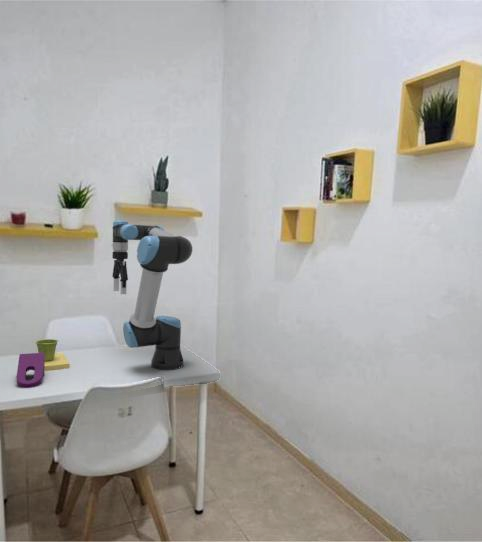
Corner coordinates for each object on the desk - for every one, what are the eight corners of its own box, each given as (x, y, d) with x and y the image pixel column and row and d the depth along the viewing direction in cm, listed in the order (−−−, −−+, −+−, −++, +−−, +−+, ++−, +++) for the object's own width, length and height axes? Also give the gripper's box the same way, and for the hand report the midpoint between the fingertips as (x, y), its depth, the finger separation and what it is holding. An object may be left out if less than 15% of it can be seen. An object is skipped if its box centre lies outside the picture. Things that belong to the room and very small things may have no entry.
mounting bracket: (42, 398, 170) (44, 367, 184) (42, 382, 166) (44, 352, 181) (16, 400, 166) (20, 369, 181) (15, 384, 163) (19, 354, 177)
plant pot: (41, 356, 200) (41, 338, 199) (61, 357, 200) (61, 339, 199) (31, 362, 190) (31, 343, 190) (52, 363, 190) (52, 344, 190)
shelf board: (69, 367, 191) (69, 363, 191) (40, 371, 184) (40, 366, 184) (62, 356, 208) (62, 352, 208) (35, 359, 202) (35, 355, 201)
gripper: (106, 250, 223) (106, 290, 224) (119, 251, 202) (118, 295, 203) (120, 250, 227) (120, 289, 228) (134, 252, 206) (134, 295, 207)
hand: (119, 292), depth 216 cm, fingers open, 13 cm apart
